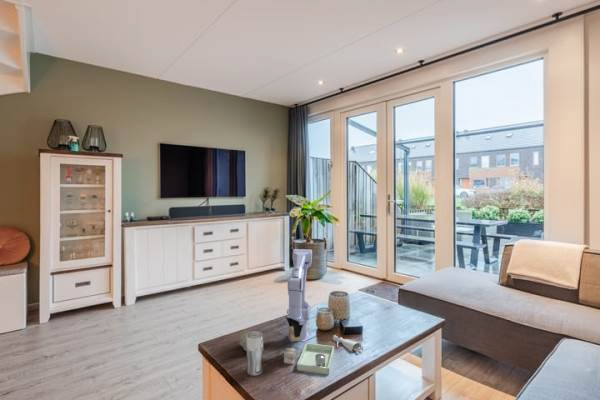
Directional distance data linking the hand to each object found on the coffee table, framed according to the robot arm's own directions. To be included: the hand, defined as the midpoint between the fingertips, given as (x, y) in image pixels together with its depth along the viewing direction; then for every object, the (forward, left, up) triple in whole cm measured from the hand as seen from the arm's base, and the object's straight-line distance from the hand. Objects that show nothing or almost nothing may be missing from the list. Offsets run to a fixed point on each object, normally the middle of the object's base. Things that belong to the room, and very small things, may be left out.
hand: (295, 334), depth 140 cm
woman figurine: (-12, +22, -9) cm, 27 cm away
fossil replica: (+1, -21, -9) cm, 23 cm away
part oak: (0, 0, -2) cm, 2 cm away
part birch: (+8, 0, -8) cm, 11 cm away
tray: (+5, +11, -8) cm, 14 cm away
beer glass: (+18, -12, -9) cm, 23 cm away
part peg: (+10, +13, -8) cm, 18 cm away
